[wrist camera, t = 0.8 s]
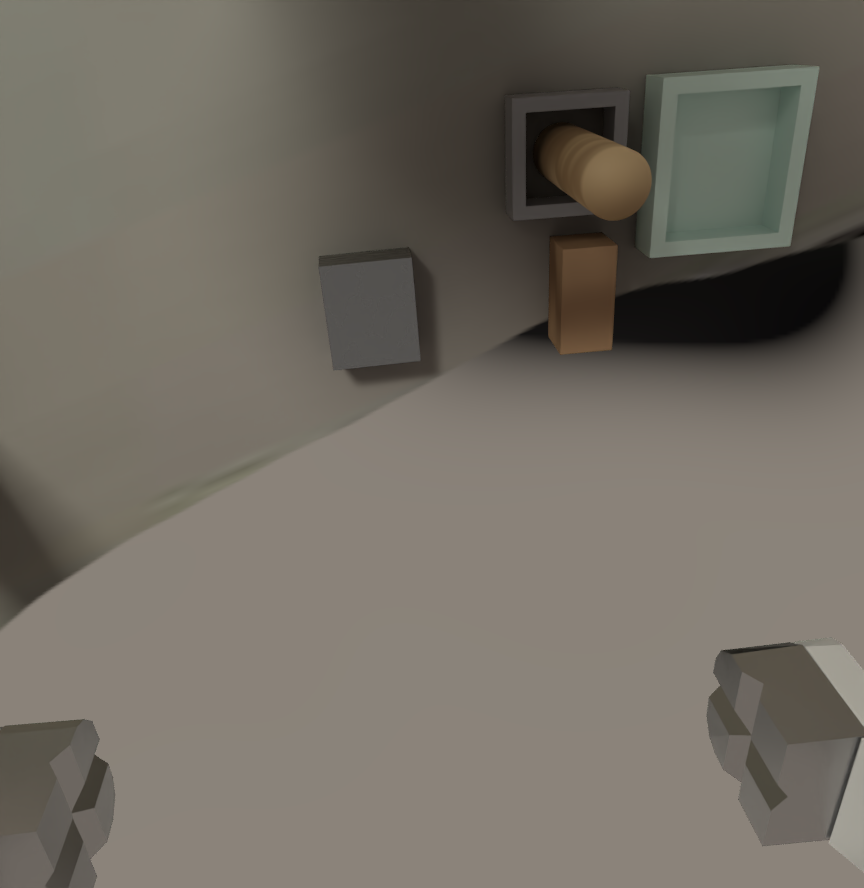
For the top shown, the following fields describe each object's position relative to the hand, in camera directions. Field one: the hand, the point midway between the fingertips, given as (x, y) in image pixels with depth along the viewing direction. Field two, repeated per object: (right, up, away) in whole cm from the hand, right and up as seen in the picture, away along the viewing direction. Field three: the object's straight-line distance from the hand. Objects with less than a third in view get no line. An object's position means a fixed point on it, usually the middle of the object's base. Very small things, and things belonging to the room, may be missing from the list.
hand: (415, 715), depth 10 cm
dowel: (+7, +19, +32) cm, 38 cm away
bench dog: (+9, +13, +35) cm, 39 cm away
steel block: (-3, +12, +35) cm, 37 cm away
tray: (+16, +19, +33) cm, 41 cm away
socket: (+7, +19, +32) cm, 38 cm away
